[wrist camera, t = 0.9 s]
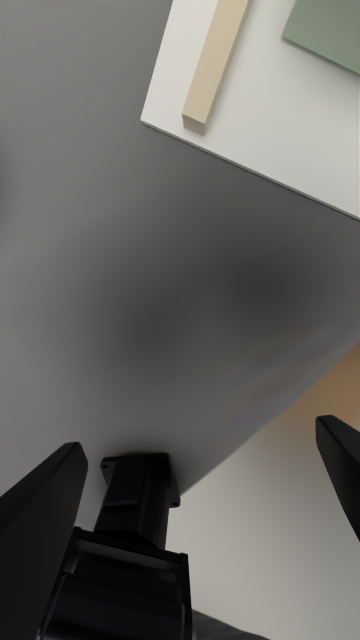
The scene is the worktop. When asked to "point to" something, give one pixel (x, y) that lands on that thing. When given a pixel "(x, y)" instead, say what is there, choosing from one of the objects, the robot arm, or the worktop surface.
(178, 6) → the base plate with rails
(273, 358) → the worktop surface
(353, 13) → the green block with knob
